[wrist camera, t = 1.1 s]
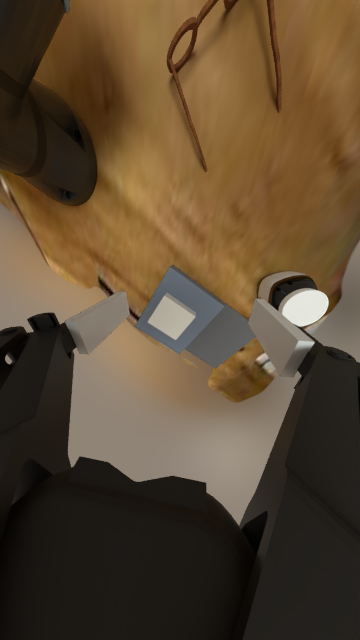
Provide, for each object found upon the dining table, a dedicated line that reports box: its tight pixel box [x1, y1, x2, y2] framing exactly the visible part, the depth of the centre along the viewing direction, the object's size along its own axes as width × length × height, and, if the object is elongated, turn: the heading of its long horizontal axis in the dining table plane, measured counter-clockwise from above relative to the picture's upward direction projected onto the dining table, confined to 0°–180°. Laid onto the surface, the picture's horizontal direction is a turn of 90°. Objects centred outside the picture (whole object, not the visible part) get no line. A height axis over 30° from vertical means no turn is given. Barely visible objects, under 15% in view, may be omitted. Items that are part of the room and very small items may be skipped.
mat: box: [185, 302, 256, 369], centre depth 42 cm, size 14×20×1 cm
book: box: [135, 265, 225, 354], centre depth 38 cm, size 16×20×4 cm
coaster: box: [148, 293, 196, 340], centre depth 35 cm, size 9×9×2 cm
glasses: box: [167, 0, 281, 171], centre depth 19 cm, size 13×13×5 cm
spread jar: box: [258, 271, 328, 326], centre depth 28 cm, size 12×11×12 cm
